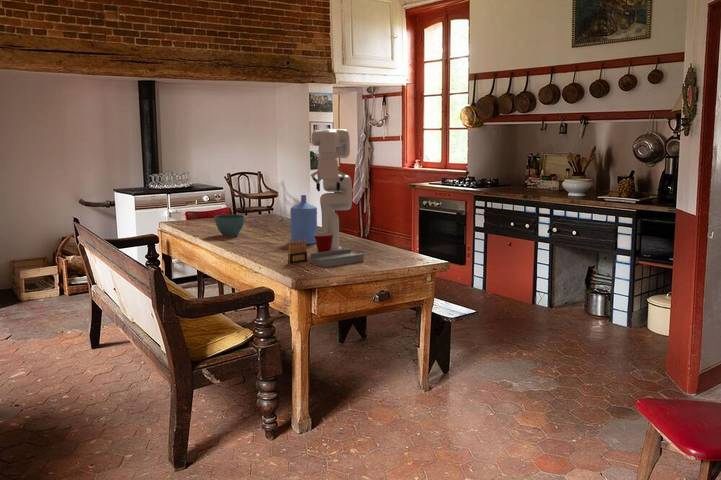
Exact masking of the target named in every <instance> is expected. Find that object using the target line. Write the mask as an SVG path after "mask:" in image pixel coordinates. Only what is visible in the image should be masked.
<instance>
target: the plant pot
mask: <svg viewBox="0 0 721 480" xmlns="http://www.w3.org/2000/svg"><path fill="white" fill-rule="evenodd" d="M214 221H215V225H216V227H217V230H218V232H219V233H220V234H221V235H222V236H223V237H227V238H232V237H237V236H238V234H239V233H240V232H241V230H242V229H243V226H244V223H245V215H243V214H220V215H215V216H214Z"/></svg>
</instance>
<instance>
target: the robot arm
mask: <svg viewBox="0 0 721 480" xmlns="http://www.w3.org/2000/svg"><path fill="white" fill-rule="evenodd" d="M310 137H311V140H310V141H311V143H312V146H314V147H318V148H317V150H318V151H317V152H318V158H319V159H318V163H317V171H314V172H313V173H311V174H310V177H311V178H312V180H313V181H314V182H315V183H316V184H315V185H316V188H315V189H316V190H317V192H320V191H321V183H320V182H321V181H322V187H323V190H324V191H326V192H324V193H322V194H321V196H320V198H319V203H320V208H321V209H320V211H321V233H334V234H333V239H332V245H331V250H330V251H333V250H341V249H343V247H342V246H340V218H339V215H338V213H336V212H335V211H349V210H351V208H352V206H353V187H352V186H353V185H352V184H353V182H352V178H351V176H350V175H349V174H348V175H347V174H346V173H344V172H342V171H341V170H339V164H338V163H339V162H338V159H347V158H348V157H349V156H350V153H351V149H350V147H351V146H350V144H351V143H350V141H351V139H350V134H349V131H348V130H347V129H343V128H327V129H321V130H313V131H312V133H311V136H310ZM316 175H317V178H316V177H315V176H316Z"/></svg>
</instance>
